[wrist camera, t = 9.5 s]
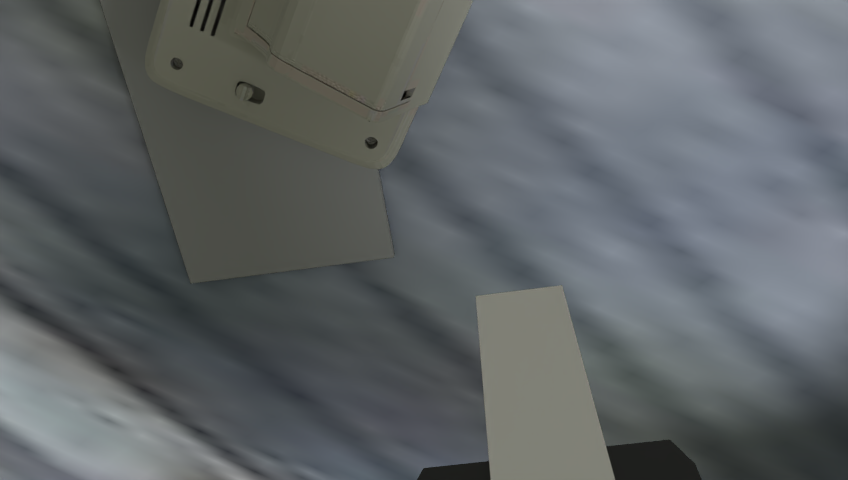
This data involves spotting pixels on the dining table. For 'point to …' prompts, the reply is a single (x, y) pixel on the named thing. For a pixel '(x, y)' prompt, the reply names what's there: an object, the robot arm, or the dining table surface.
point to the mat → (244, 179)
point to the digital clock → (309, 65)
